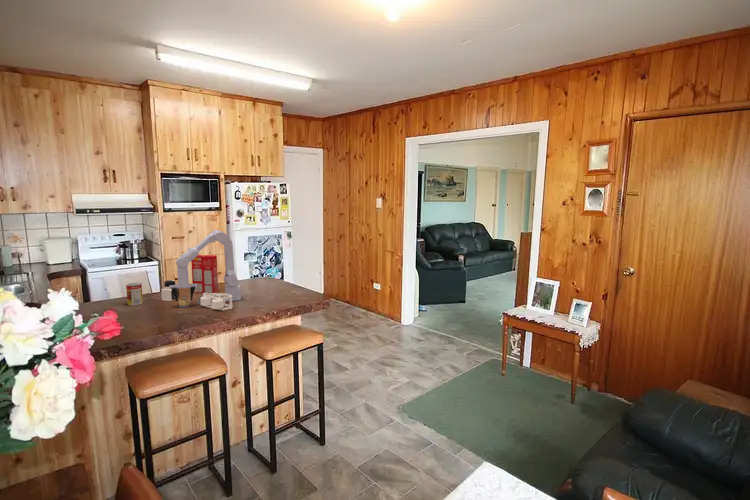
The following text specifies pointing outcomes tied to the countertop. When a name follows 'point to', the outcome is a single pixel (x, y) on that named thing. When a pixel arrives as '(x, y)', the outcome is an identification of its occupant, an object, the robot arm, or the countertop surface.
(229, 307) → the car outline toy
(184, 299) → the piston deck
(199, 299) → the steel ring
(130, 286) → the canned food
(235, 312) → the countertop surface
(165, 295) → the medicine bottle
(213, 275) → the food packaging
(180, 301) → the wooden ring
